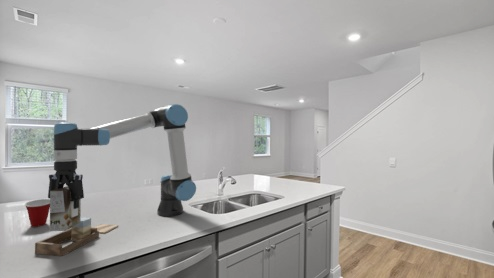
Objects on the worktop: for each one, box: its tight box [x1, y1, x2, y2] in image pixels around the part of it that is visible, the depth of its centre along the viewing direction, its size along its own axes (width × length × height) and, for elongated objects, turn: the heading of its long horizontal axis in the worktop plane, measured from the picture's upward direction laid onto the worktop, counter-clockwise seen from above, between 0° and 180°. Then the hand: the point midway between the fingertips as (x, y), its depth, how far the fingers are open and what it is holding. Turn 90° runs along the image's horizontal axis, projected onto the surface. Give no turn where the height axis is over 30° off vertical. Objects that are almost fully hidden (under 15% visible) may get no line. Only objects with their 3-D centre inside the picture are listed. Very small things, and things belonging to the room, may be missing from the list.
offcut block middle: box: [72, 224, 92, 235], centre depth 103 cm, size 6×4×3 cm, turn 80°
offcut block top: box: [74, 216, 92, 228], centre depth 103 cm, size 6×4×3 cm, turn 79°
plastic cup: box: [24, 198, 50, 228], centre depth 118 cm, size 11×11×12 cm
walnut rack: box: [34, 226, 100, 257], centre depth 97 cm, size 12×18×4 cm, turn 171°
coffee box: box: [49, 185, 82, 232], centre depth 95 cm, size 9×6×16 cm
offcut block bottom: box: [70, 231, 91, 242], centre depth 103 cm, size 6×4×3 cm, turn 80°
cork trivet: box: [93, 223, 119, 234], centre depth 114 cm, size 10×9×1 cm
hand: (66, 215), depth 95 cm, fingers closed on coffee box, 7 cm apart
